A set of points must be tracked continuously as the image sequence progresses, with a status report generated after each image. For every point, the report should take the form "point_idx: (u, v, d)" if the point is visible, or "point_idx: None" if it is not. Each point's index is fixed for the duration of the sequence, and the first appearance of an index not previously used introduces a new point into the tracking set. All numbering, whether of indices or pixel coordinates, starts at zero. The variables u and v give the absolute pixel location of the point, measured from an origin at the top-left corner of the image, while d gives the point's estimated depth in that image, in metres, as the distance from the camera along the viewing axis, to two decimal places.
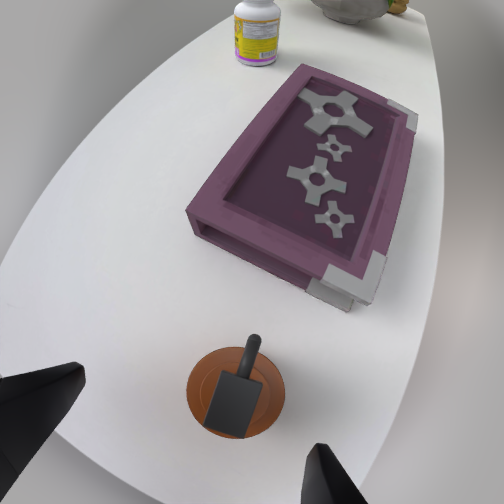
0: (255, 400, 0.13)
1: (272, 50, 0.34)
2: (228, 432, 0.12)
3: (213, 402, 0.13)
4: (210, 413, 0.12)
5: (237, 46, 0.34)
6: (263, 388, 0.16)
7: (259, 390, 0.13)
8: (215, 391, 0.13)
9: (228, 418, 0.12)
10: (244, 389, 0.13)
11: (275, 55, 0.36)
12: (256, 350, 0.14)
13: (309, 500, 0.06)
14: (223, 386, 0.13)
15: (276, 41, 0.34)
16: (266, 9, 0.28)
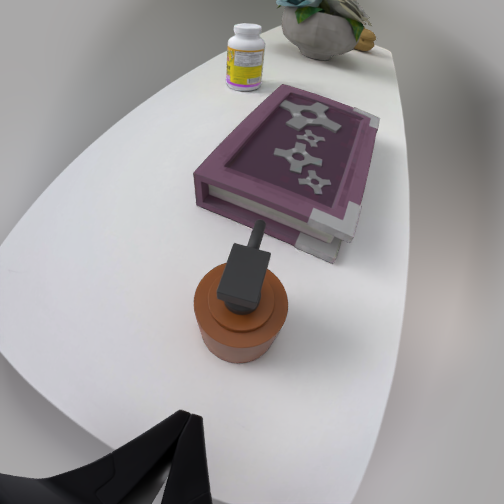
0: (265, 266, 0.16)
1: (258, 76, 0.45)
2: (241, 296, 0.15)
3: (227, 268, 0.15)
4: (225, 278, 0.15)
5: (228, 73, 0.44)
6: (267, 291, 0.19)
7: (268, 257, 0.16)
8: (229, 259, 0.16)
9: (241, 283, 0.15)
10: (255, 256, 0.16)
11: (260, 82, 0.46)
12: (263, 229, 0.17)
13: None
14: (236, 255, 0.16)
15: (261, 69, 0.44)
16: (254, 41, 0.38)
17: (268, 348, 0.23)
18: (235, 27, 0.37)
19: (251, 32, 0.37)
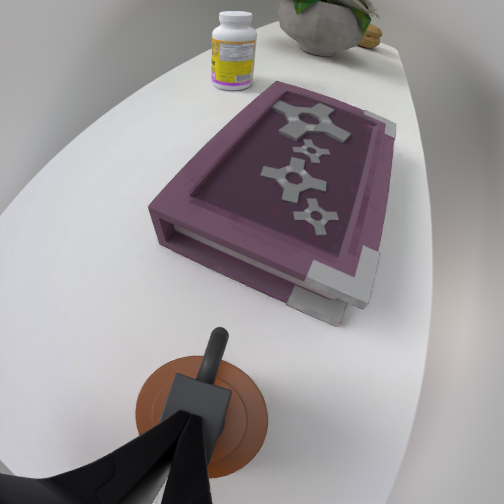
0: (222, 412, 0.09)
1: (248, 73, 0.37)
2: None
3: (164, 414, 0.09)
4: None
5: (213, 70, 0.37)
6: (237, 408, 0.11)
7: (227, 399, 0.09)
8: (168, 399, 0.09)
9: None
10: (206, 397, 0.09)
11: (251, 80, 0.39)
12: (222, 346, 0.11)
13: None
14: (178, 393, 0.09)
15: (252, 65, 0.36)
16: (242, 30, 0.31)
17: None
18: (220, 15, 0.29)
19: (239, 20, 0.29)
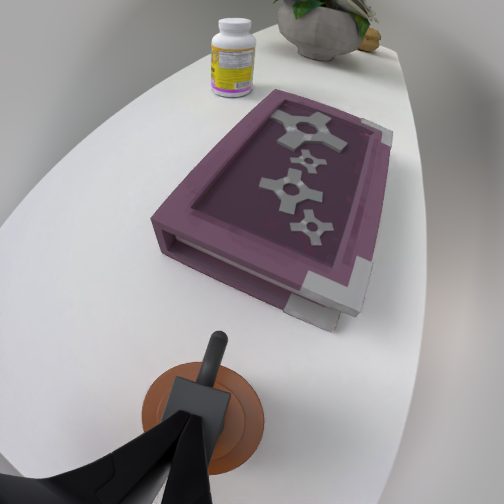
0: (221, 415, 0.09)
1: (247, 80, 0.38)
2: None
3: (165, 417, 0.09)
4: None
5: (213, 77, 0.38)
6: (236, 411, 0.12)
7: (226, 401, 0.09)
8: (168, 402, 0.09)
9: None
10: (206, 400, 0.09)
11: (250, 86, 0.40)
12: (221, 350, 0.11)
13: None
14: (179, 396, 0.09)
15: (251, 71, 0.37)
16: (242, 37, 0.32)
17: None
18: (220, 22, 0.30)
19: (238, 27, 0.30)
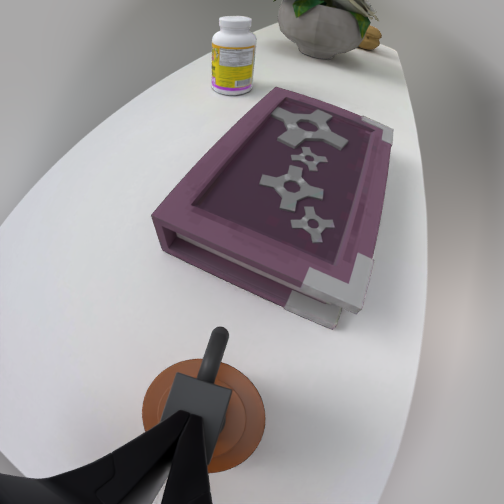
0: (222, 412, 0.09)
1: (248, 78, 0.38)
2: None
3: (165, 413, 0.09)
4: None
5: (214, 75, 0.38)
6: (237, 408, 0.12)
7: (227, 398, 0.09)
8: (169, 399, 0.09)
9: None
10: (207, 396, 0.09)
11: (250, 84, 0.40)
12: (222, 346, 0.11)
13: None
14: (179, 392, 0.09)
15: (251, 69, 0.37)
16: (242, 35, 0.32)
17: None
18: (220, 20, 0.30)
19: (239, 26, 0.30)
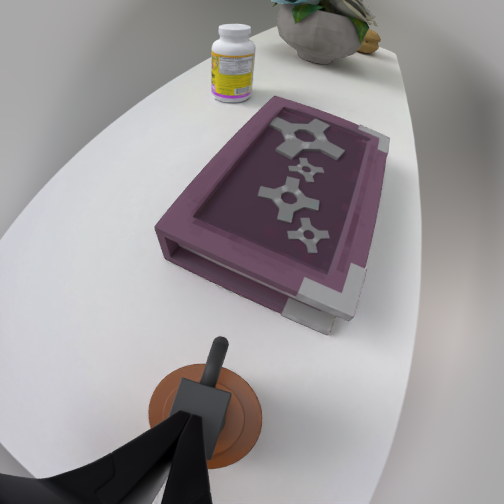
0: (223, 412, 0.10)
1: (247, 86, 0.39)
2: None
3: None
4: None
5: (213, 83, 0.39)
6: (236, 409, 0.14)
7: (227, 400, 0.11)
8: (175, 401, 0.10)
9: None
10: (209, 399, 0.10)
11: (250, 92, 0.41)
12: (223, 354, 0.12)
13: None
14: (184, 395, 0.10)
15: (251, 77, 0.38)
16: (241, 44, 0.33)
17: None
18: (220, 28, 0.31)
19: (238, 34, 0.31)
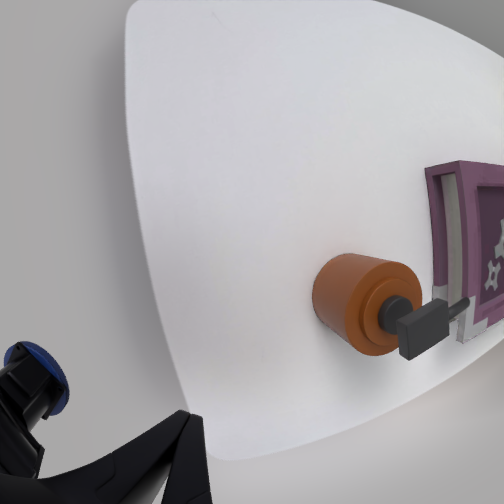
0: (438, 340, 0.13)
1: None
2: (409, 347, 0.12)
3: (427, 316, 0.12)
4: (419, 322, 0.12)
5: None
6: None
7: (445, 336, 0.13)
8: (434, 310, 0.12)
9: (420, 337, 0.12)
10: (443, 327, 0.13)
11: None
12: (463, 310, 0.13)
13: None
14: (440, 312, 0.12)
15: None
16: None
17: None
18: None
19: None
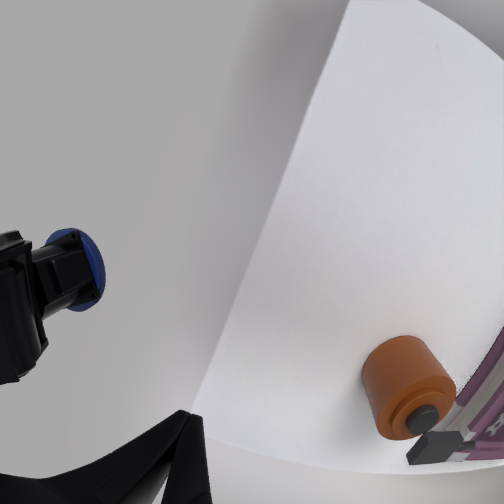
0: (436, 462, 0.11)
1: None
2: (418, 457, 0.11)
3: (445, 443, 0.11)
4: (438, 444, 0.11)
5: None
6: None
7: (442, 461, 0.11)
8: (452, 441, 0.11)
9: (429, 454, 0.11)
10: (446, 455, 0.11)
11: None
12: None
13: None
14: (453, 444, 0.11)
15: None
16: None
17: None
18: None
19: None
